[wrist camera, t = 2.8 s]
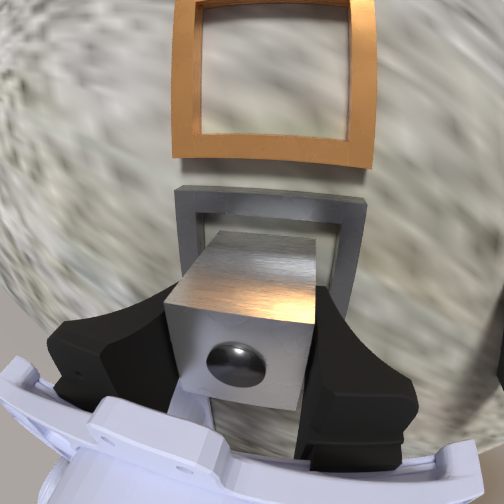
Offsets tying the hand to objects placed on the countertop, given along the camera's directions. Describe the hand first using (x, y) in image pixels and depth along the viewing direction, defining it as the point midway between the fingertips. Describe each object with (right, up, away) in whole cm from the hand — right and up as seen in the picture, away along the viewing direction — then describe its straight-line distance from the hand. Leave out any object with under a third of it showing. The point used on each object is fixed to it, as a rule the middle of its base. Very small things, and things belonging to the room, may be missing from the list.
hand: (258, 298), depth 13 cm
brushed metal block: (0, +1, +2) cm, 2 cm away
